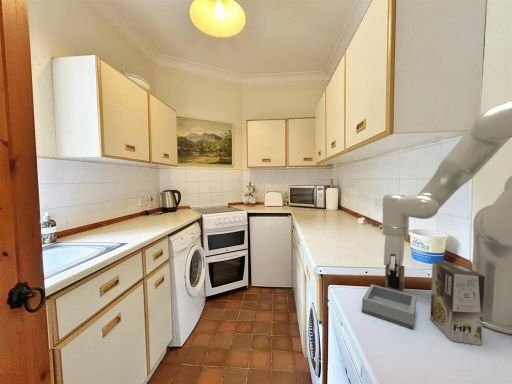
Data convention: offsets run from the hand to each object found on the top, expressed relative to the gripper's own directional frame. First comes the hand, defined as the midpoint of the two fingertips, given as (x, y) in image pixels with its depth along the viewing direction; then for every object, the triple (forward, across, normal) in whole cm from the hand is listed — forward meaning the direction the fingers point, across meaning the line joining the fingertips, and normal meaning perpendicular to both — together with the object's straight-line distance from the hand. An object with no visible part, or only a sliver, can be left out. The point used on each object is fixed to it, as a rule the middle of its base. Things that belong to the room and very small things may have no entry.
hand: (394, 284), depth 76 cm
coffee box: (+4, +14, +14) cm, 20 cm away
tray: (+3, +14, 0) cm, 14 cm away
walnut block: (+1, 0, 0) cm, 1 cm away
